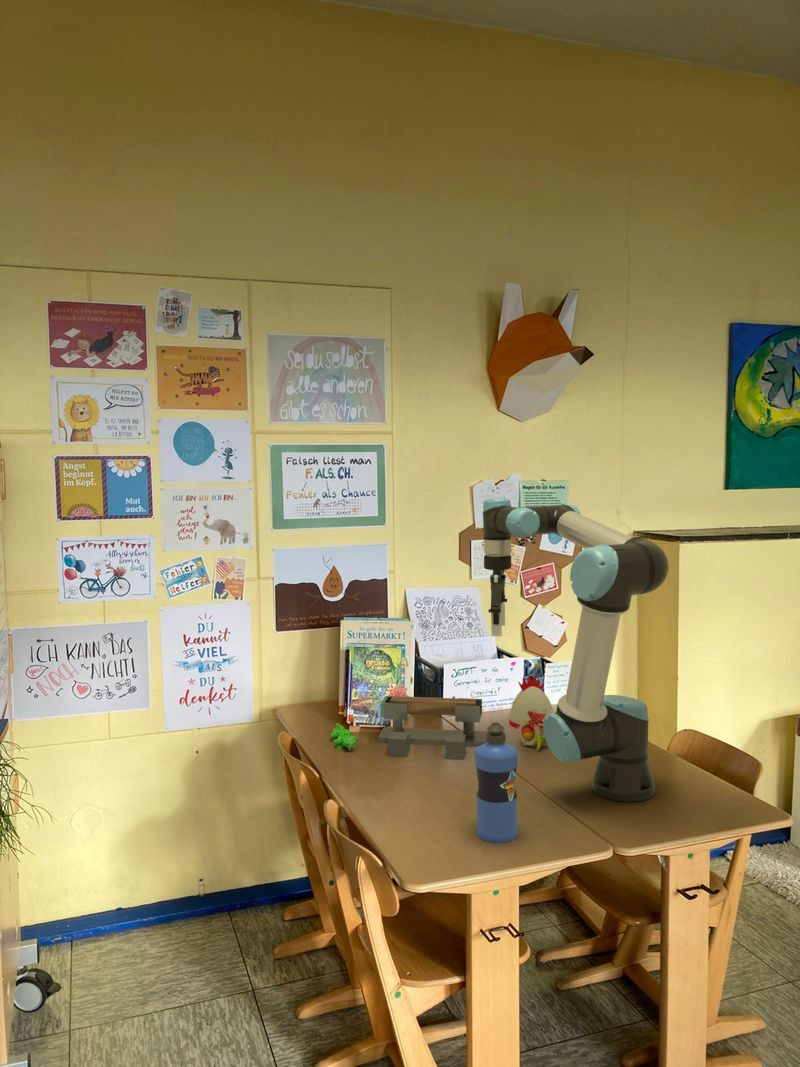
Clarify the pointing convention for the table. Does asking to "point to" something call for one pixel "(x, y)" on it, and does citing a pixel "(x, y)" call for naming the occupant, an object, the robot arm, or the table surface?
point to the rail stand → (432, 736)
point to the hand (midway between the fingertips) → (498, 630)
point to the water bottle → (496, 787)
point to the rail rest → (401, 745)
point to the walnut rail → (432, 705)
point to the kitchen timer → (529, 703)
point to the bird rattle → (532, 730)
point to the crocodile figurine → (343, 737)
